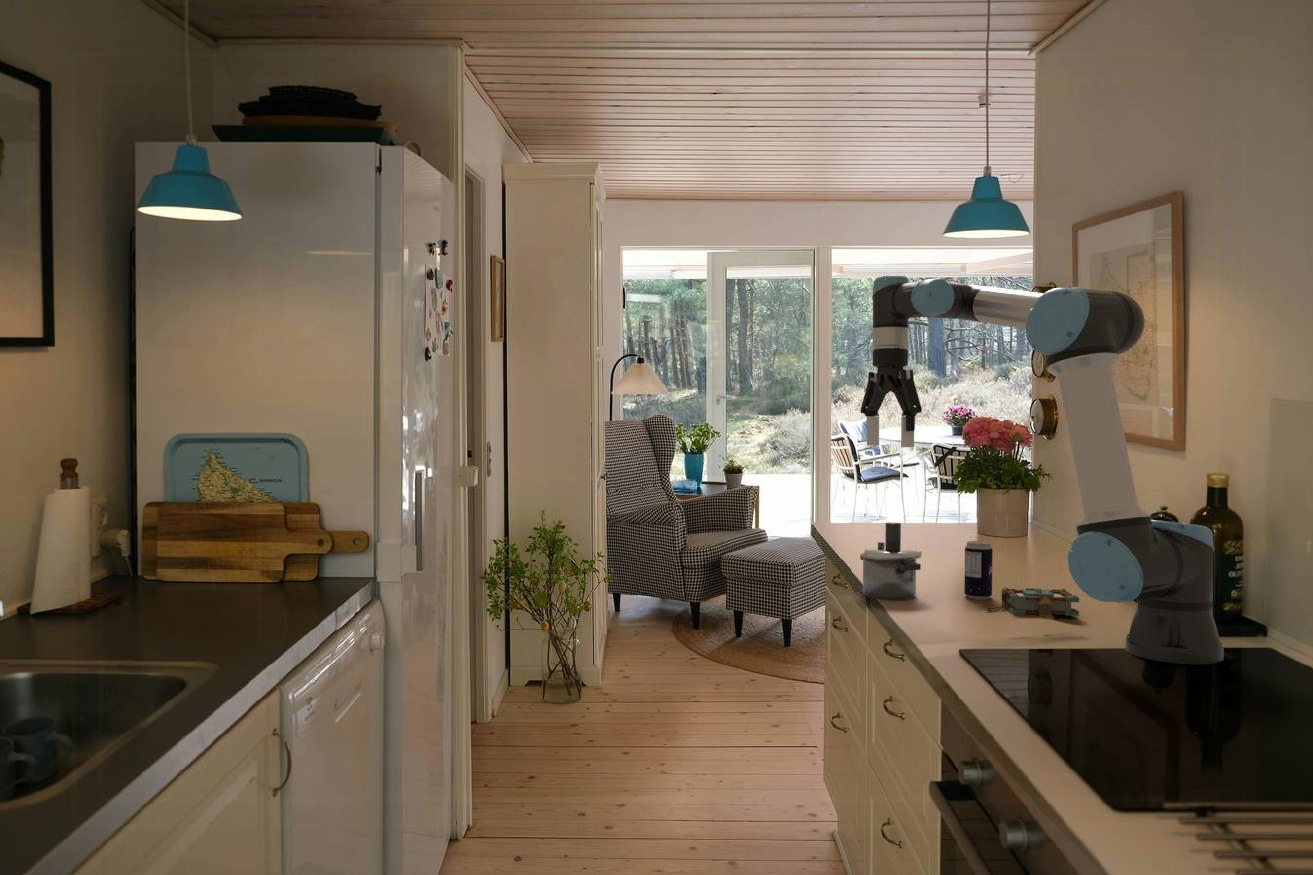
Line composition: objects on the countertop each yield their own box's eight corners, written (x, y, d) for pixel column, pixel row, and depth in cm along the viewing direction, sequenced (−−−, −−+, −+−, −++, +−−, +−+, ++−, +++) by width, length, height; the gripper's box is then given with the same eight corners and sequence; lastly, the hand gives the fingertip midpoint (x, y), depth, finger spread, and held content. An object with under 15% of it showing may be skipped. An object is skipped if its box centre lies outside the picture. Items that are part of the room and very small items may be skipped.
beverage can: (993, 600, 216) (994, 544, 215) (965, 599, 217) (966, 543, 217) (990, 596, 221) (990, 541, 221) (963, 595, 222) (963, 540, 222)
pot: (891, 588, 231) (891, 548, 231) (936, 601, 215) (936, 558, 215) (844, 591, 227) (844, 550, 227) (887, 604, 211) (887, 561, 211)
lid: (933, 557, 217) (934, 524, 216) (888, 561, 211) (888, 527, 211) (896, 550, 227) (897, 519, 227) (853, 553, 222) (853, 521, 222)
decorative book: (976, 605, 213) (976, 581, 212) (1063, 607, 211) (1063, 583, 211) (990, 618, 199) (990, 592, 199) (1083, 620, 197) (1084, 594, 197)
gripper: (939, 344, 210) (938, 447, 211) (874, 352, 234) (873, 444, 234) (908, 343, 208) (907, 448, 208) (845, 351, 231) (845, 445, 231)
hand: (889, 446), depth 221 cm, fingers open, 13 cm apart
